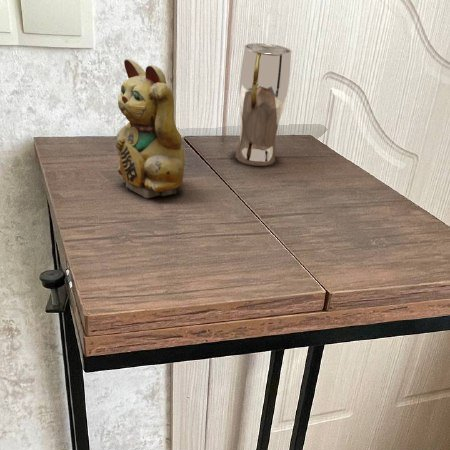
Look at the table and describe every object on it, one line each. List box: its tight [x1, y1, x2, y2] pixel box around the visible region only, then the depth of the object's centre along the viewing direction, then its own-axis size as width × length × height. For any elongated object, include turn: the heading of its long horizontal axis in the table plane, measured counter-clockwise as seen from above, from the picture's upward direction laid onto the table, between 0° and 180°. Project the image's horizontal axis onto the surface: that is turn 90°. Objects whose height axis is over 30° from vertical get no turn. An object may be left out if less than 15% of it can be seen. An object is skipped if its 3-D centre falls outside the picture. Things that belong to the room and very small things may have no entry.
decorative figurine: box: [115, 58, 185, 199], centre depth 78 cm, size 10×8×15 cm
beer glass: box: [234, 42, 293, 167], centre depth 90 cm, size 7×7×15 cm
